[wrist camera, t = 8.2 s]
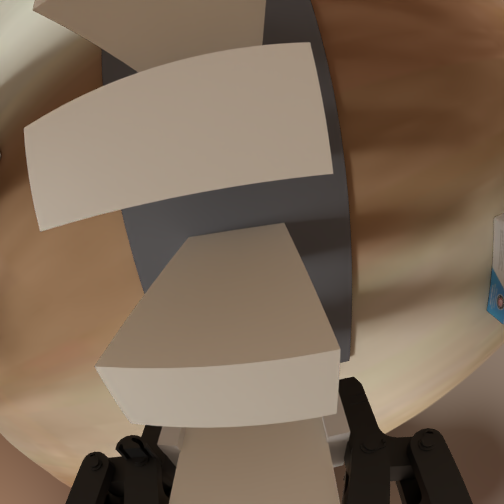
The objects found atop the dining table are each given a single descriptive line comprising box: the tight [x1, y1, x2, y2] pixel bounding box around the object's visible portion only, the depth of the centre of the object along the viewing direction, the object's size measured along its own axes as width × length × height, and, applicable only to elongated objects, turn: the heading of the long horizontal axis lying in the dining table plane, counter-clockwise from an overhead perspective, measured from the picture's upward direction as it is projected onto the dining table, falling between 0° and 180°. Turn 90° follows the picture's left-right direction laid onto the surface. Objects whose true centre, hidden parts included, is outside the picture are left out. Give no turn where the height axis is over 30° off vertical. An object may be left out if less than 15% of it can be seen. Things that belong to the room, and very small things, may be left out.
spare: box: [169, 417, 340, 504], centre depth 9 cm, size 5×2×10 cm, turn 99°
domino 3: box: [95, 223, 340, 428], centre depth 10 cm, size 5×2×10 cm, turn 99°
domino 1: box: [33, 0, 266, 72], centre depth 7 cm, size 5×2×10 cm, turn 99°
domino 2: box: [24, 42, 333, 232], centre depth 8 cm, size 5×2×10 cm, turn 99°
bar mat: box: [102, 0, 352, 363], centre depth 13 cm, size 12×28×1 cm, turn 9°
